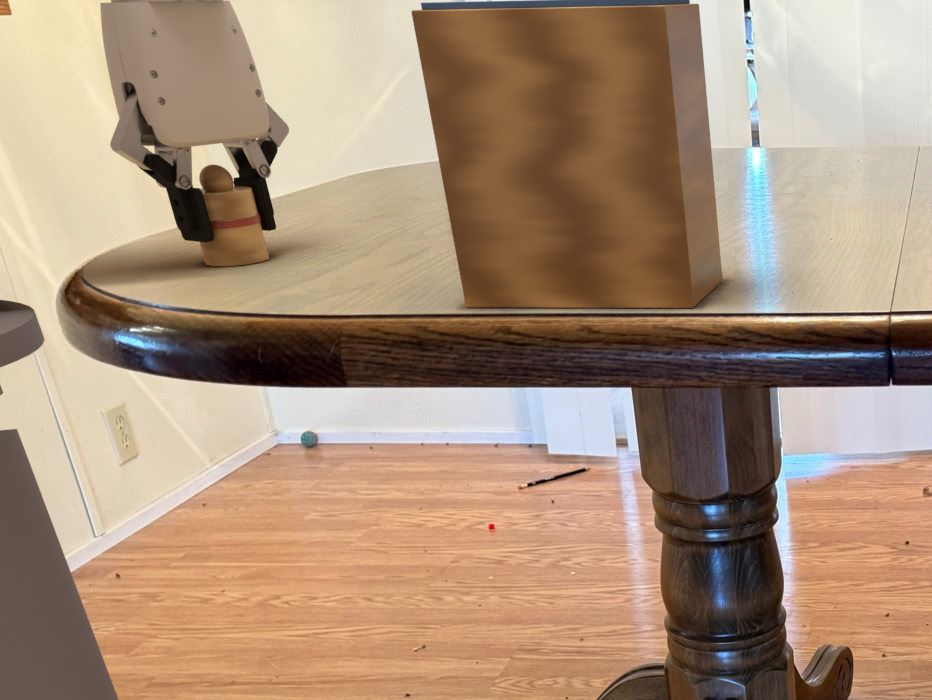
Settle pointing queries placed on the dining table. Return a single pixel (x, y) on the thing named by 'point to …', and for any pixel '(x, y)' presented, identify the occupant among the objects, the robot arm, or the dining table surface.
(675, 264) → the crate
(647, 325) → the dining table surface
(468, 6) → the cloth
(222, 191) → the pepper mill
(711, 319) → the dining table surface
